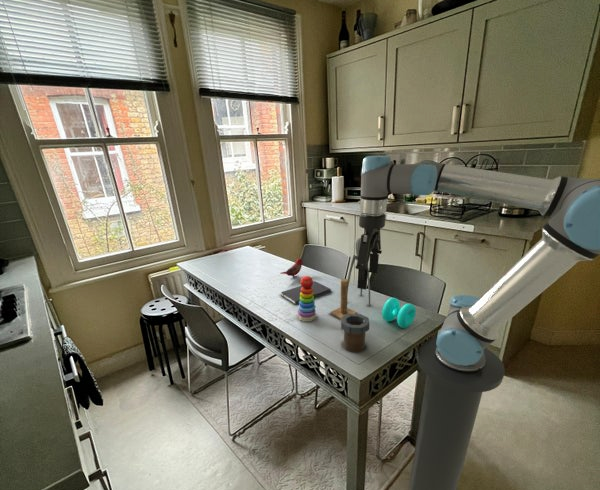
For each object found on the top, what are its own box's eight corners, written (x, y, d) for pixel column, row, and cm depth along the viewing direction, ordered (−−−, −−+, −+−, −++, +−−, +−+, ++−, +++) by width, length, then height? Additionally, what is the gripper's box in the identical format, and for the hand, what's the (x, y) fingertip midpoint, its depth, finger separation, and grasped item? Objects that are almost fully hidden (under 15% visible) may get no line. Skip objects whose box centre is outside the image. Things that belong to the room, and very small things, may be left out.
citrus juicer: (361, 295, 151) (363, 233, 139) (377, 301, 144) (382, 238, 132) (344, 302, 145) (346, 239, 132) (361, 310, 138) (364, 244, 125)
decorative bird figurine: (305, 274, 177) (304, 257, 173) (282, 284, 166) (281, 266, 162) (301, 273, 179) (301, 256, 175) (278, 283, 168) (277, 265, 164)
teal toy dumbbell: (393, 314, 133) (395, 293, 129) (415, 323, 126) (418, 301, 122) (379, 323, 127) (381, 301, 123) (401, 333, 120) (404, 310, 116)
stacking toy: (313, 323, 129) (312, 281, 122) (295, 320, 132) (292, 279, 124) (318, 314, 136) (318, 274, 128) (301, 311, 139) (299, 272, 131)
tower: (357, 314, 135) (358, 280, 128) (344, 321, 130) (345, 285, 123) (343, 308, 140) (343, 274, 134) (330, 314, 136) (330, 280, 129)
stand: (369, 345, 114) (370, 326, 111) (355, 354, 110) (356, 335, 106) (353, 337, 119) (353, 318, 116) (339, 345, 115) (339, 326, 112)
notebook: (295, 304, 145) (330, 291, 156) (295, 301, 144) (330, 288, 155) (280, 295, 155) (315, 283, 165) (280, 292, 154) (314, 281, 165)
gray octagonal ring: (374, 326, 110) (374, 320, 109) (356, 337, 105) (356, 331, 104) (353, 316, 117) (353, 310, 116) (335, 326, 112) (335, 320, 111)
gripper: (370, 204, 103) (366, 265, 112) (346, 221, 83) (344, 293, 92) (394, 206, 100) (387, 268, 109) (375, 224, 80) (369, 298, 89)
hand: (367, 280), depth 101 cm, fingers open, 13 cm apart
